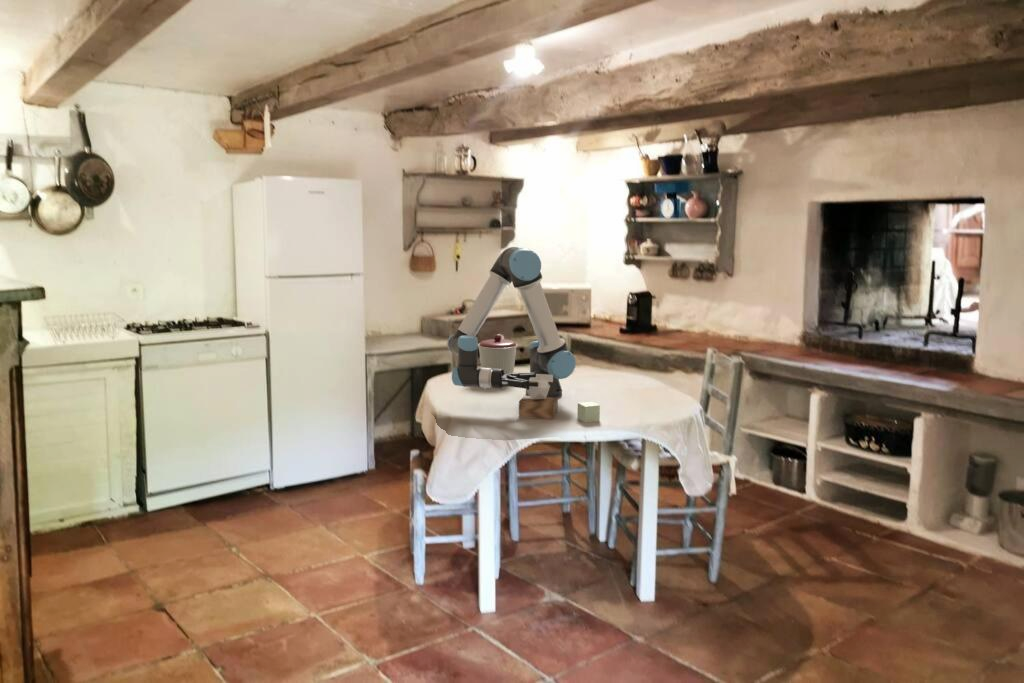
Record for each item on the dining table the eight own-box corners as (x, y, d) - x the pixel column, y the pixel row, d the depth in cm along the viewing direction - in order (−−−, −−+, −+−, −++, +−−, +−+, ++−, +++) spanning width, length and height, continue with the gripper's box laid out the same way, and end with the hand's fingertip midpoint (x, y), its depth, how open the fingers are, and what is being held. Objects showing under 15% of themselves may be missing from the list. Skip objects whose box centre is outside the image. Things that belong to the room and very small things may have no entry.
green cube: (591, 417, 298) (591, 401, 297) (599, 421, 292) (599, 405, 291) (577, 418, 295) (577, 402, 294) (585, 422, 290) (585, 406, 289)
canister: (514, 385, 347) (514, 338, 344) (473, 384, 350) (473, 337, 346) (520, 377, 365) (520, 331, 361) (481, 375, 368) (481, 330, 364)
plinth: (519, 416, 297) (519, 401, 296) (524, 410, 306) (524, 395, 305) (553, 419, 294) (553, 403, 293) (557, 413, 303) (557, 397, 301)
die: (548, 398, 303) (533, 377, 305) (558, 389, 296) (542, 367, 298) (532, 408, 298) (517, 387, 300) (542, 399, 291) (526, 377, 293)
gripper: (499, 381, 313) (555, 384, 308) (484, 394, 292) (544, 398, 286) (499, 362, 312) (555, 365, 307) (484, 374, 290) (544, 378, 285)
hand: (550, 381), depth 296 cm, fingers open, 10 cm apart
